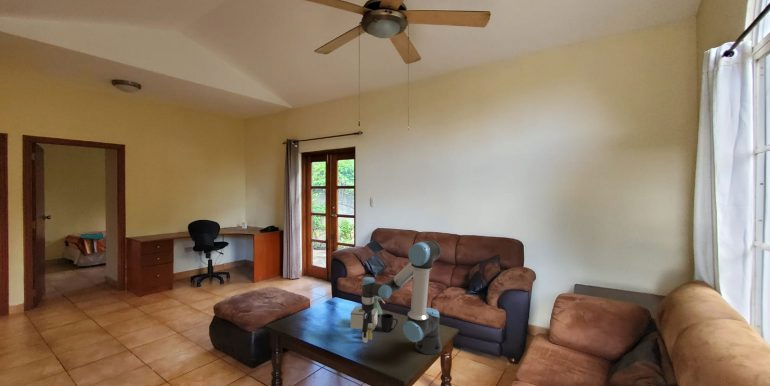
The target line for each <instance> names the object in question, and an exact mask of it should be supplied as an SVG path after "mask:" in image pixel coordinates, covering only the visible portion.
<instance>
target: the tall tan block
mask: <svg viewBox="0 0 770 386" xmlns="http://www.w3.org/2000/svg"><path fill="white" fill-rule="evenodd" d="M367 331H368V337H367V341H369V340H370V341H372V339H373V331H374V330H373V328H368V329H367ZM361 340H363V332H362V331H361Z"/></svg>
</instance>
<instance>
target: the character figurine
mask: <svg viewBox="0 0 770 386" xmlns="http://www.w3.org/2000/svg"><path fill="white" fill-rule="evenodd" d="M379 300H380V301H381V302H382V304H384V305H386V302H385V301H384V300H383V298H381V297H378V296H375V295H374V308H377V309H378V312H377V318H378V317H380V315H382V314H384V313H383V310H382V307H381V305H380V302H379Z"/></svg>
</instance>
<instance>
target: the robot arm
mask: <svg viewBox="0 0 770 386" xmlns="http://www.w3.org/2000/svg"><path fill="white" fill-rule="evenodd" d="M441 254H442V249H441V246H440V244H439V243H438V242H437V241H435V240H432V239H431V240H424V241H419V242H416V243H414V244H413V245H411V247H410V248H409V250H408V259H409V261H410V262H408V263H407V265H405V266H404V267H403V268H402V269H401V270H400V271H399V272H398V273H397V274H395V276H394V277H392V278H391V279H389V280H388V281H385V282H383V283H378V282H376V280H375V278H374V277H372V276H367V277H366V276H365V277H363V278H362V285H361V287H362V289H361V291H362V296H361V297H360V298H361V302H362V303H361V307H362V309H363V310H364V311H365V312H364V315H363V329H361V333H362V332H363V339H362V343H364V344H365V343H366V344H367V343H368V339H367V337H368V331H367V329H368V328H371V323H373V322H372V310H373V309H374V295H375V296H378V297H380V298H381V299H385V300H386V299H389V298H390V297H391V296H392V294H393V293H396V292H399V291H400V290H402V288H403V286H404V285H406V283H408V282H409V281H410V280H411V279H412V289H411V291H412V292H411V302H410V303H411V304H410V310H409V311H408V312H407V317H406V318H407V319H406V321H405V322H404V323H403V325H402V332H403V334H404V336H405V337H406V339H407V340H408V341H411V342H412V343H415V349H416V351H418V352H419V353H421V354H425V355H431V356H432V355H438V354H440V353H441V352H442V350H443V349H442V343H441V339H440V312H439V310H438V309H435V308H432V307H427V306H428V296H429V293H428V292H429V282H430V280H429V279H430V271H431V270H432V269H433V265H434V262H435V261H436V260H438V259H439V258H440V256H441Z"/></svg>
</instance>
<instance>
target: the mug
mask: <svg viewBox="0 0 770 386" xmlns="http://www.w3.org/2000/svg"><path fill="white" fill-rule="evenodd" d="M394 321H396V323H395V325H393V324H394ZM398 322H399V320H398V319H397V318H394V315H393V314H391V313H382V314H380V324H381V329H382V332H384V333H389V332H392V331H394V330H395V328H396V327H397V325H398Z"/></svg>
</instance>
